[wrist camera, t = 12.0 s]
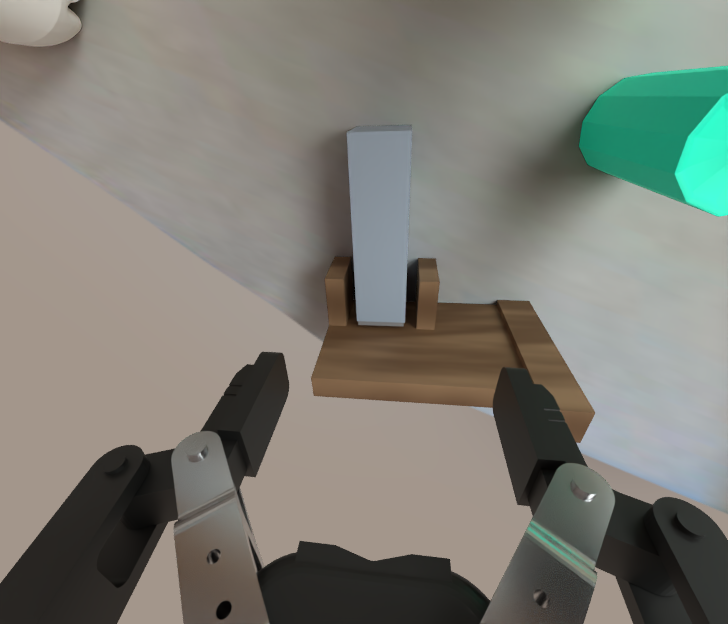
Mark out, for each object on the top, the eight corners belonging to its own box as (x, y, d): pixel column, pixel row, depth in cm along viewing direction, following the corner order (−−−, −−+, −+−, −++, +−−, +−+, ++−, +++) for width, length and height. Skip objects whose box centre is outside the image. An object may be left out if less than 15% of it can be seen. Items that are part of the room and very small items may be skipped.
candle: (647, 178, 24) (814, 235, 14) (564, 167, 25) (671, 217, 15) (700, 78, 21) (964, 62, 11) (603, 67, 21) (777, 42, 11)
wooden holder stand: (334, 256, 30) (294, 345, 20) (540, 260, 29) (621, 361, 18) (339, 318, 34) (307, 422, 23) (522, 326, 32) (580, 442, 21)
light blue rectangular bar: (356, 126, 25) (346, 132, 21) (411, 124, 24) (412, 130, 20) (363, 296, 33) (357, 325, 28) (405, 297, 32) (404, 327, 28)
